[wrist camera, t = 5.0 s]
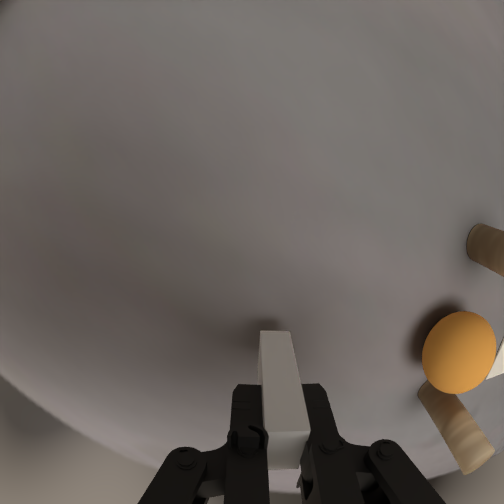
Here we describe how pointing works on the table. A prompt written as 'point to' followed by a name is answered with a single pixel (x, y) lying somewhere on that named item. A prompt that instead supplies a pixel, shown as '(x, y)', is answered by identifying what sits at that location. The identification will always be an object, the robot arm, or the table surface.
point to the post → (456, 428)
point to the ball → (459, 352)
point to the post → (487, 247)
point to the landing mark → (497, 363)
